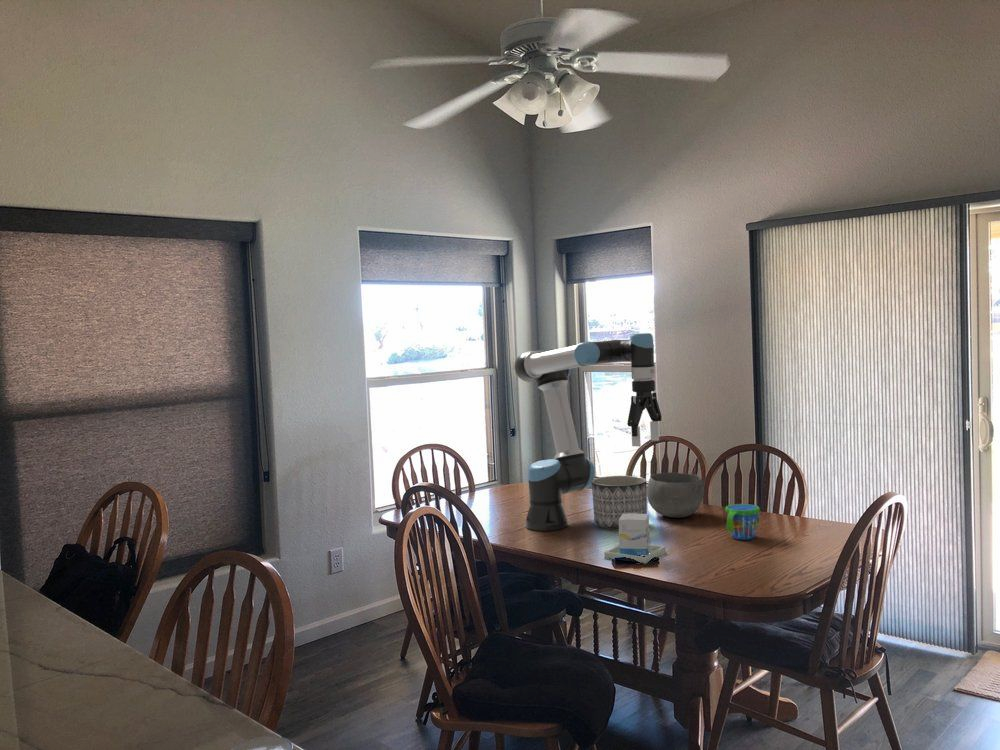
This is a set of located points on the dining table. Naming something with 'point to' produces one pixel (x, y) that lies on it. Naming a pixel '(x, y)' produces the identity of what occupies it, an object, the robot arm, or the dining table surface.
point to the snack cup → (742, 520)
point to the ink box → (634, 534)
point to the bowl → (675, 493)
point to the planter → (618, 499)
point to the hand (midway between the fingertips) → (645, 443)
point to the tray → (654, 552)
